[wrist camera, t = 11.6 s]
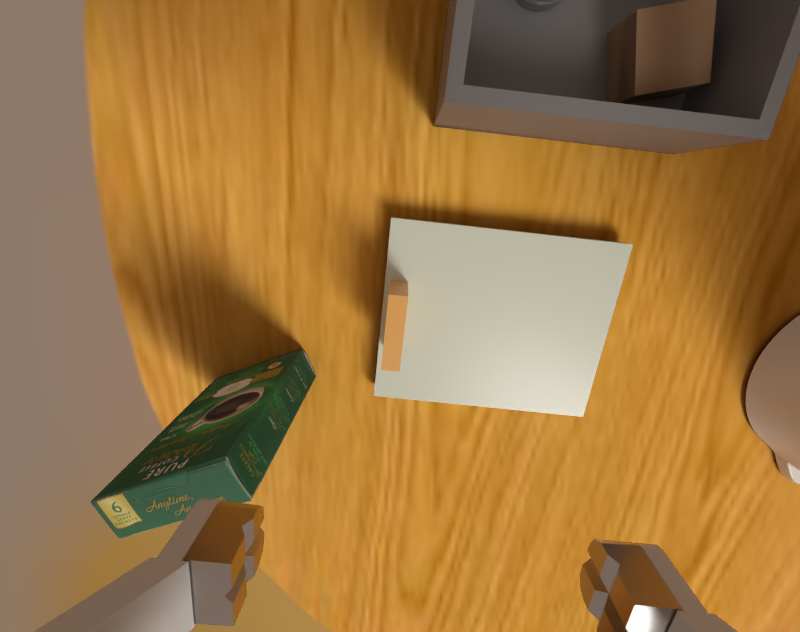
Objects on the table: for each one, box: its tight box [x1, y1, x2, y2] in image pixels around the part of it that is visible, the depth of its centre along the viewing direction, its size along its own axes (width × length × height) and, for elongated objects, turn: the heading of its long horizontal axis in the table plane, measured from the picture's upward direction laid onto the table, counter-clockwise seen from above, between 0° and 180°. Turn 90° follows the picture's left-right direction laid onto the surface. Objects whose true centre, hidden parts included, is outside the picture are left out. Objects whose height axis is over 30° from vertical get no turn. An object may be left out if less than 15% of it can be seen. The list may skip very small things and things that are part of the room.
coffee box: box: [91, 349, 316, 538], centre depth 24 cm, size 8×3×13 cm, turn 110°
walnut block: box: [607, 0, 717, 104], centre depth 22 cm, size 4×4×3 cm
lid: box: [374, 217, 633, 417], centre depth 27 cm, size 16×13×6 cm
